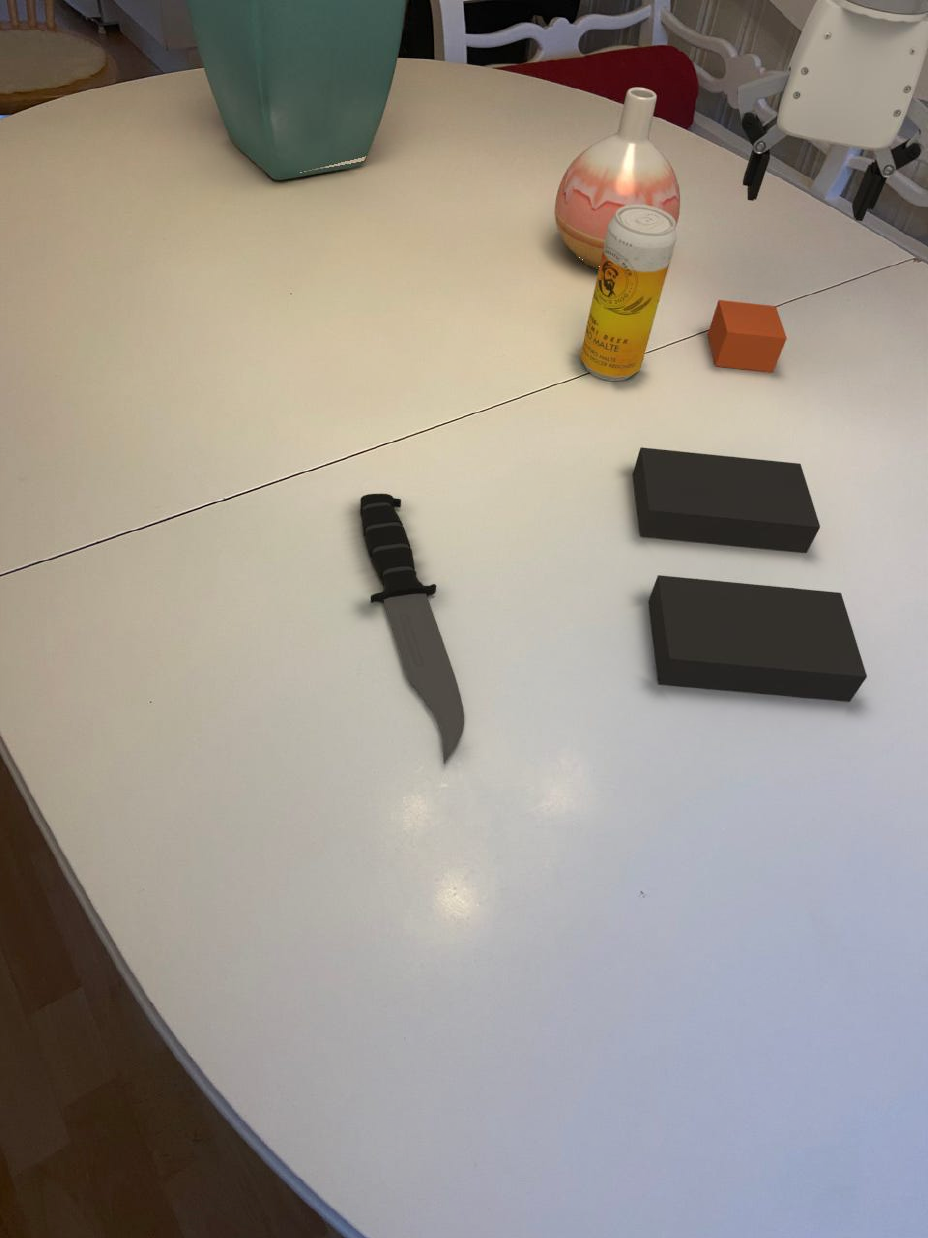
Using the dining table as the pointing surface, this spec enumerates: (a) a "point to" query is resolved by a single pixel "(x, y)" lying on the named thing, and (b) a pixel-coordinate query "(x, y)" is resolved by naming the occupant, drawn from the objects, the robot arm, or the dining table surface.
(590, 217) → the vase
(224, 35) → the flower pot
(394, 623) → the knife
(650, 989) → the dining table surface
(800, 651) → the pads
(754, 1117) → the dining table surface
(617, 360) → the beer can
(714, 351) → the link piece
